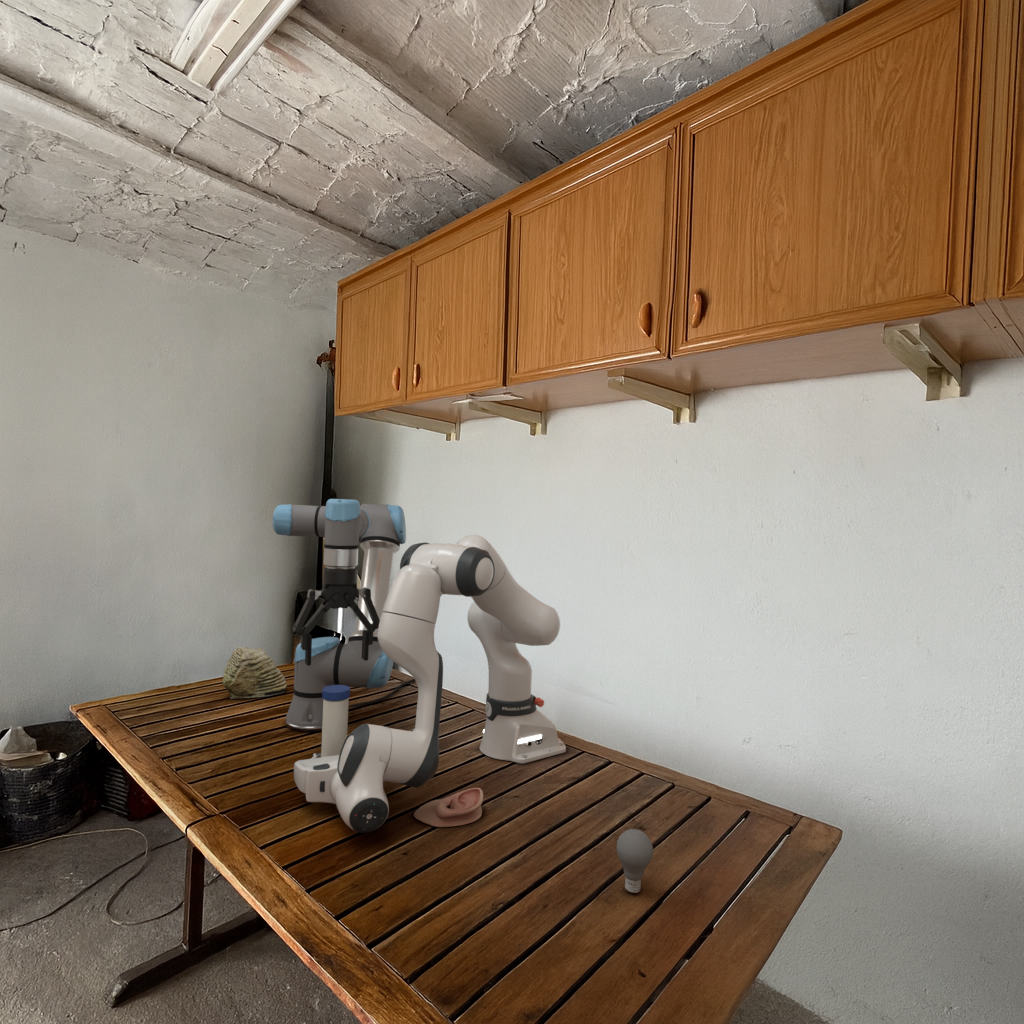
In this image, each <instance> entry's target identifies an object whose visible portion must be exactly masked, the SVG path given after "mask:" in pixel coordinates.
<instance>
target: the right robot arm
mask: <svg viewBox="0 0 1024 1024" xmlns="http://www.w3.org/2000/svg"><path fill="white" fill-rule="evenodd" d="M442 595H448V596H464V597H466V598H471V599H472V603H471V604H470V605H469V608H468V611H467V615H466V616H467V617H466V618H467V624H468V627H469V629H470V630H471V632H473V633H474V635H475V636H476V637H477V638H478V640H479V642H480V644H481V646H482V647H483V650H484V654H485V656H486V660H487V667H488V689H487V690H488V691H487V693H486V697H485V717H486V718H485V725H484V729H483V730H482V733H483V734H482V738H481V741H480V744H479V747H478V748H479V751H480V752H481V754H483V755H485V756H487V757H489V758H492V759H495V760H499V761H508V762H509V761H510V762H513V763H515V764H516V763H517V764H522V765H523V764H527V763H531V762H534V761H538V760H542V759H545V758H549V757H553V756H556V755H557V756H558V755H561V754H564V753H566V752H567V746H566V744H565V742H564V741H563V740H562V739H560V738H559V737H558V731H557V727H556V725H555V723H554V722H553V721H552V720H551V719H550V718H549V717H547V715H545V714H544V713H542V711H541V710H539V709H538V708H542V707H544V705H545V700H544V699H542V698H541V697H537V696H535V695H533V694H532V680H533V679H532V678H533V669H532V665H531V663H530V661H529V660H528V659H527V658H526V657H524V655H522V653H521V652H520V650H519V649H518V646H517V644H518V645H525V646H529V647H539V646H549V645H551V644H553V642H554V641H556V639H557V637H558V635H559V633H560V629H561V619H560V616H559V613H558V611H557V610H556V608H554V607H553V606H550V605H548V604H546V603H544V602H542V601H541V600H539V599H538V598H537V597H536V596H534V595H532V594H531V593H530V592H528V590H526V589H525V587H523V586H522V585H520V584H519V582H517V581H516V579H515V578H514V576H513V575H512V573H511V571H510V570H509V568H508V567H507V565H506V563H505V562H504V559H503V558H502V557H501V555H500V554H499V552H498V551H497V550H496V548H495V547H494V546H493V545H492V544H491V543H490V542H489V541H488V540H487V538H484V537H483V536H481V535H477V534H471V535H466V536H464V537H462V538H461V539H459V540H458V541H457V542H456V543H438V542H437V543H429V542H419V543H414V544H411V545H410V546H409V547H408V548H406V550H405V552H403V555H402V557H401V559H400V563H399V570H398V571H397V573H396V575H395V577H394V579H393V581H392V582H391V585H390V590H389V593H388V595H387V598H386V601H385V604H384V608H383V611H382V615H381V618H380V622H379V628H378V641H379V644H380V647H381V649H382V650H383V652H384V653H385V654H386V655H387V656H388V657H389V658H390V659H391V660H392V661H393V662H394V663H395V664H396V665H397V666H399V667H400V668H401V669H403V670H405V671H406V672H407V673H408V674H409V675H411V677H412V679H415V681H414V682H415V683H416V685H417V701H416V713H415V724H414V725H415V726H414V728H413V730H404V729H399V728H392V727H388V726H384V725H377V724H371V723H365V722H364V723H363V724H361V725H359V726H357V727H356V728H355V729H354V730H352V731H351V732H350V733H349V734H347V738H346V739H345V741H344V743H343V746H342V748H341V751H340V755H334V756H327V757H321V752H315V753H312V756H311V758H307V759H299V760H297V761H295V762H294V764H293V780H294V783H295V786H296V787H297V789H298V790H299V791H300V792H302V794H304V795H305V801H306V802H308V803H325V804H327V803H328V804H334V805H335V806H336V809H337V810H338V813H339V816H340V817H341V819H342V821H343V822H344V823H345V825H346V826H347V827H348V828H349V829H350V830H352V831H354V832H357V833H371V832H373V831H375V830H377V829H379V828H380V827H382V825H383V824H385V822H386V821H387V819H388V817H389V814H390V805H389V801H388V798H387V797H388V796H387V794H386V792H385V789H384V782H387V783H396V784H399V785H403V786H407V787H411V788H415V789H418V788H420V787H422V786H424V785H425V784H427V783H428V782H430V781H431V779H433V777H434V776H435V775H436V774H437V771H438V768H439V762H440V723H441V711H442V710H441V709H442V698H443V697H442V696H443V685H444V684H443V683H444V662H443V657H442V654H441V653H440V652H439V651H438V650H437V647H436V641H435V630H436V629H435V628H436V624H437V620H438V616H439V610H440V603H441V597H442ZM537 707H538V708H537Z"/></svg>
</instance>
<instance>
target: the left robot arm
mask: <svg viewBox="0 0 1024 1024" xmlns="http://www.w3.org/2000/svg"><path fill="white" fill-rule="evenodd" d="M405 517H406V516H405V512H404V510H403V508H402V507H401V506H400V505H397V504H388V503H386V504H380V503H379V504H377V503H360V501H359V500H357V499H348V498H347V499H345V498H329V499H328V500H327V501H326V503H325V505H309V504H307V505H306V504H291V503H288V504H277V506H276V507H275V508H274V511H273V514H272V529H273V531H274V533H275V534H276V535H278V536H287V537H317V538H324V547H323V549H324V550H323V551H324V552H323V565H324V566H325V567H324V568H322V569H323V570H322V587H321V589H319V590H318V589H312V588H309V589H308V590H307V594H306V599H305V602H304V604H303V606H302V608H301V609H300V613H299V614H298V616H297V619H296V620H295V622H294V624H293V626H292V631H293V632H294V633H295V634H297V635H300V643H298V644H297V645H296V648H295V655H294V660H293V662H294V672H293V673H294V674H293V695H292V696H293V697H292V699H291V702H290V704H289V708H288V711H287V713H286V715H285V726H286V728H287V729H289V730H291V731H294V732H295V731H296V732H301V733H316V732H322V720H323V698H322V691H323V688H324V687H326V686H330V685H346V686H349V687H350V688H363V689H364V688H366V689H369V690H370V689H379V688H380V689H381V688H384V687H385V686H386V685H387V684H388V682H389V680H390V677H391V675H392V671H393V668H394V663H395V662H393V661H392V660H391V659H390V658H389V657H388V656H387V655H386V654H385V653H384V652H383V650H382V649H381V647H380V644H379V641H378V628H379V622H380V618H381V615H382V611H383V608H384V604H385V601H386V598H387V595H388V593H389V590H390V588H391V585H392V573H393V564H394V557H395V554H396V553H398V552H399V551H400V547H401V545H404V544H406V540H407V528H406V518H405ZM359 543H360V544H359ZM359 546H360V547H359ZM359 548H361V549H362V551H363V552H364V553H363V560H362V561H363V562H362V569H361V570H362V571H361V577H360V585H359V588H358V571H359V570H358V568H357V566H358V565H359ZM320 596H321V598H322V600H323V601H322V602H321V603H320V605H319V607H318V608H317V610H315V612H314V614H312V616H311V617H310V618H309V619H308V616H309V614H310V612H311V610H312V609H313V606H314V604H315V601H316V600H318V599H319V597H320ZM357 597H358V602H356V601H355V600H356V599H357ZM348 608H350V609H351V611H352V612H353V613H354V614H355V616H356V618H355V627H354V632H352V633H351V634H350V635H349V636H348V640H347V643H341V641H340V638H339V637H337V636H335V637H334V636H323V637H322V636H321V637H315V638H313V635H312V634H311V632H312V631H313V629H314V628H315V627H316V626H317V624H318V623H319V622H320V621H321V620H322V618H323V617H324V615H325V614H326V613H328V611H329V610H330V609H333V610H337V609H348ZM307 619H308V621H307V622H306V620H307ZM413 682H416V681H415V679H414V678H412V679H409V680H406V681H404V682H402V683H400V684H399V685H398V686H396V687H395V688H394V690H392V691H391V692H389V693H388V694H386V695H383V696H382V697H379V698H376V699H372V700H368V701H363V702H358V703H357V702H356V703H352V704H348V709H351V708H356V707H359V706H365V705H371V704H374V703H378V702H381V701H383V700H385V699H387V698H389V697H391V696H392V695H394V694H395V693H396V692H397V691H398V690H399V689H401V688H402V687H404V686H405V685H407V684H410V683H413Z"/></svg>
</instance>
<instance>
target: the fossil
mask: <svg viewBox="0 0 1024 1024" xmlns="http://www.w3.org/2000/svg"><path fill="white" fill-rule="evenodd" d="M222 676H223V677H222V685H223V687H224V688H225V690H226V691H228V693H229V698H230V699H250V698H264V697H271V696H275V695H281V694H284V693H285V691H286V689H287V687H288V686H287V680H286V678H285V676H284V674H283V673H282V672H281V669H279V668H278V667H277V665H276V663H275V662H274V660H273V659H272V658H271V657H270V656H269V655H268V654H267V653H266V652H265V650H264V649H263V648H260V647H258V648H251V647H247V646H246V647H245V646H238V647H237V648H236V649H235V650H233V651H232V653H231V656H230V657H229V659H228V660H227V663H226V666H225V668H224V671H223V675H222Z"/></svg>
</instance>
